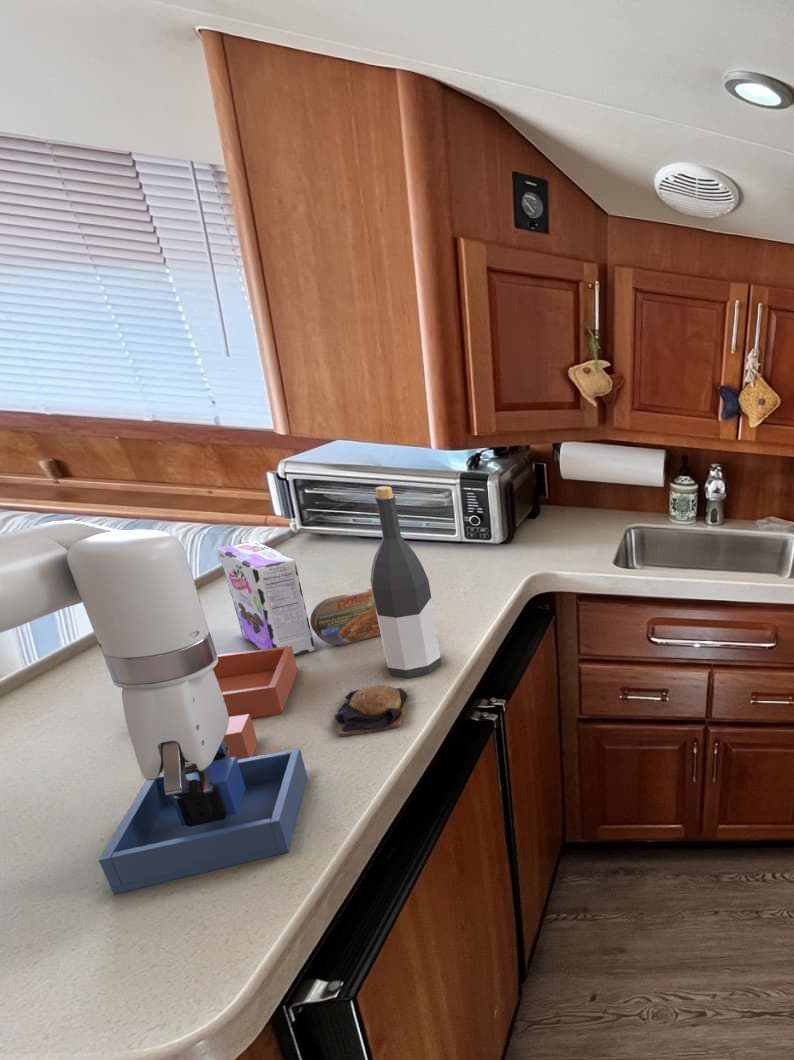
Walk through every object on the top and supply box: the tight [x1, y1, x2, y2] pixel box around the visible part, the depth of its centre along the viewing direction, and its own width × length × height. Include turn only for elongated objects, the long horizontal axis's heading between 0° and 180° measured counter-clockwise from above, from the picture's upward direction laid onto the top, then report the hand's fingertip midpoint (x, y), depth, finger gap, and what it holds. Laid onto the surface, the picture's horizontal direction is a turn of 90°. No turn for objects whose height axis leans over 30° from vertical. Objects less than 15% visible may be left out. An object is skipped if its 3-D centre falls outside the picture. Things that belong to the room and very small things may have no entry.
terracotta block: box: [223, 714, 259, 760], centre depth 80 cm, size 4×4×4 cm
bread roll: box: [334, 684, 408, 737], centre depth 91 cm, size 11×8×4 cm
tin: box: [310, 587, 381, 646], centre depth 112 cm, size 15×3×8 cm, turn 141°
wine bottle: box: [370, 485, 442, 679], centre depth 99 cm, size 8×8×30 cm
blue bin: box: [98, 748, 308, 895], centre depth 69 cm, size 14×14×4 cm
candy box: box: [217, 540, 316, 657], centre depth 105 cm, size 14×6×16 cm, turn 57°
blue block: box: [171, 757, 246, 826], centre depth 68 cm, size 4×4×4 cm
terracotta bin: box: [213, 646, 299, 719], centre depth 92 cm, size 14×14×4 cm
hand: (213, 804), depth 69 cm, fingers closed on blue block, 4 cm apart
